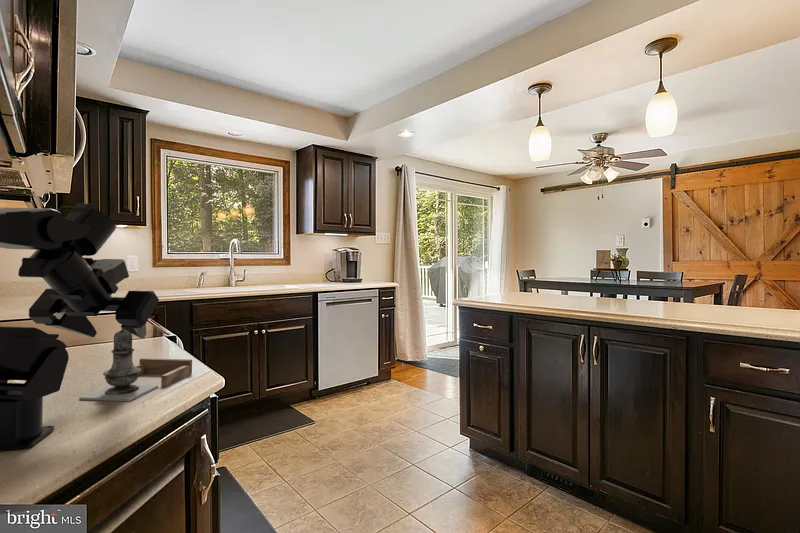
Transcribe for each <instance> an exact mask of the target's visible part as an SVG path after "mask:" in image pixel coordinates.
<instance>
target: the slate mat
mask: <svg viewBox="0 0 800 533" xmlns="http://www.w3.org/2000/svg"><path fill="white" fill-rule="evenodd" d="M135 385H136V386H138V387H139V390H137V391H135V392H132V393H128V394H122V395H107V394H105V391H106V390H108V389H109V388H111V387H114V386H111V385H109V384H108V385H107V386H104V387H102V388H99V389H96V390H94V391H92V392H90V393H87V394H85V395H81V396H80V397H78V398H79V399H78V400H80V401H81V400H82V401H109V402H111V401H112V402H131V400H132V401H133V399H134V400H136V399H137V398H140V397H142V396H144V395H146V394H148V393H150V392H152V391H154V390H156V389H158V388H159V385H156V384H135ZM135 398H136V399H135Z"/></svg>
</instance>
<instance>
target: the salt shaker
mask: <svg viewBox="0 0 800 533" xmlns="http://www.w3.org/2000/svg"><path fill="white" fill-rule="evenodd" d="M134 351H135V348H133V334H132V333H130V332H128V331H127V330H125V329H123V328H121V329H120V330H119V331H116V332H115V334H114V335H113V349H112V350H111V351H110V353H111V354H112V365H111V368H110V369H108V370H106V371H103V373H102V375H103V376H104V379H105V381H106V383H107V384H108V386H109V385H111V386H114V387H111V388H109V389H108V390H106V391H105V394H107V395H122V394H128V393H132V392H135V391H137V390H139V387H138V386H136V385H137V384H134V383H135V382H136V381H137V380H138V378H139V376H140V375H139V372H140V371H141V368H138V367H135V365H134V362H133V352H134Z"/></svg>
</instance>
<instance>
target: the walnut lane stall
mask: <svg viewBox="0 0 800 533" xmlns="http://www.w3.org/2000/svg"><path fill="white" fill-rule="evenodd" d="M134 366H135V367H138V368H141V371H140V372H139V376H140V375H142V374H162V375H161V376H160V378H161V380H160V382H161V384H160V385H161V386H162V387H168V386H169V385H171V384H173V383H175V382H177V381H179V380H181V379H183V378H184V376H185V377H187V376H189V375H191V374H192V373H193V372H192V371H193V359H191V358H187V359H185V358H156V357H155V358H152V357H151V358H150V357H142V358H139V363H138V364H136V365H134ZM190 373H191V374H190ZM188 374H189V375H188ZM186 375H187V376H186ZM182 377H183V378H182ZM180 378H181V379H180ZM178 379H179V380H178ZM176 380H177V381H176ZM174 381H175V382H174Z"/></svg>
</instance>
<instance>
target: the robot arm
mask: <svg viewBox="0 0 800 533" xmlns="http://www.w3.org/2000/svg"><path fill="white" fill-rule="evenodd" d="M116 227H117V226H116V223H115V221H114V219H113V218H112V217H109V216H108V215H107V214H106V213H105V212H103V211H100V210H97V209H95V208H93V206H92V204H91V203H76V204H75V205H74V206H73V208H72V209H71V211H70V212H69V213H68V215H66V216H65V217H63V216H62V213H61V212H60V211H59V210H57V209H53V208H43V207H41V208H38V207H37V208H36V207H34V208H31V207H29V208H28V207H3V208H0V248H1V249H2V248H3V249H8V250H35V251H34V252H33V253H32V254H30V255H31V256H29V257H23V258H22V259H21V265H20V267H19V269H18V274H17V275H18V276H19V277H20V278H41V279H43V281H44V282H45V283H46V285H48V286H49V287H50V288H46V289H44V291H43V292H42V293H41V294H40V295H39V297H37V299H36V300H35V301H34V302H33V304H32V305H30V307H29V309H28V317H29V319H31V321H33V322H34V323H35V324H36V325H40V324H41V325H44V326H46V327H52V328H55V329H60V330H63V331H67V332H70V333H71V332H72V333H76V334H78V335H79V334H80V335H82V336H86V337H90V338H95V337H96V336H97V333H98V332H97V330H96V328H95V327H94V325H93V324H92V322H91V321H90V320H89V318H88V317H97V316H98V315H99V313H100V312H115V314H114V315H115V321H116V322H117V323H118V324H120V325H121V326H120V329H122V328H123V329H125V330H127V331H128V332H130V333H132V335H134V336H135V337H137V338H139V339H145V337H146V336H147V322H148V320H149V318H150V317H151V316H152V314H153V312H154V311H155V308H156V306H157V305H158V303H159V301H160V299H159V297H158V296H157V295H156V293H155V291H154V290H143V289H142V290H138V289H137V290H134V289H132V290H128V292H127V293H126V294H125V296H124V297H119V296H118V297H117V296H112V295H113V294H116V293H117V291H118V290H119V287H118V286H117V284H119V283H120V282H122V281H123V280H125V279H128V278H129V277H130V274H129V270H128V268H127V264H126V261H125V260H124V259H122V258H102V259H93V258H92V257H93V256H95V255H96V254H97V253H98V252H99V250H101V248H102V247H103V246H104V244H105V243H107V241H108V239H109V238H110V237H111V236H112V234H113V233H114V232H115V231H116V229H117V228H116ZM83 256H84V257H83ZM91 256H92V257H91ZM59 337H60V334H58V333H47V332H45V331H43V330H42V329H40V328H37V327H34V326H33V327H32V326H30V327H29V326H25V327H24V326H0V451H3V450H2V449H9V450H17V449H18V450H19V449H27V448H31V447H33V446H34V445H36V443H38V442H39V441H40V440H42V439H43V438H44V437H46V436H47V435H49V434H50V433H51V432H53V431H54V430H55V425H43V420H44V419H43V415H44V414H43V413H44V412H43V408H44V405H43V404H44V403H43V402H44V397H46V396H49V395H52V394H54V393H57V392H59V391H60V390H61V386H62V383H63V379H64V377H65V373H66V369H67V367H68V366H67V365H68V363H69V358H70V357H69V352H68V350H67V349H66V348H67V344H66V343H65V342H64V341H63V340H60V339H58V338H59ZM8 381H24V382H23V383H22V382H21V383H20V382H8Z"/></svg>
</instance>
